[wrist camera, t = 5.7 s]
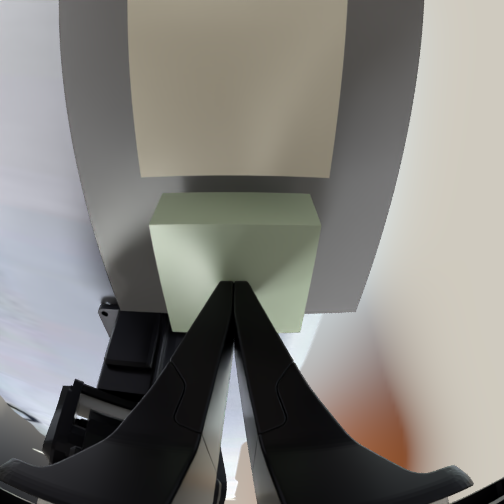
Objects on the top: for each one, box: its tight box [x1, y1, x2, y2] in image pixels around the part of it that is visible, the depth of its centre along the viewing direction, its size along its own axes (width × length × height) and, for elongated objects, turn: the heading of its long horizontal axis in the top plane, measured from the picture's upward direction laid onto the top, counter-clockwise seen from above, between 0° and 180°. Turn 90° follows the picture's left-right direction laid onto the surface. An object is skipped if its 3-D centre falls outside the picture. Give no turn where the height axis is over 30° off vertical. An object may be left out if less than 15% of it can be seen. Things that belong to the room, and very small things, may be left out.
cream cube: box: [127, 0, 348, 178], centre depth 8 cm, size 5×5×5 cm
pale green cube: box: [149, 192, 321, 333], centre depth 12 cm, size 5×5×5 cm
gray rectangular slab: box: [59, 0, 424, 314], centre depth 10 cm, size 22×12×3 cm, turn 179°
